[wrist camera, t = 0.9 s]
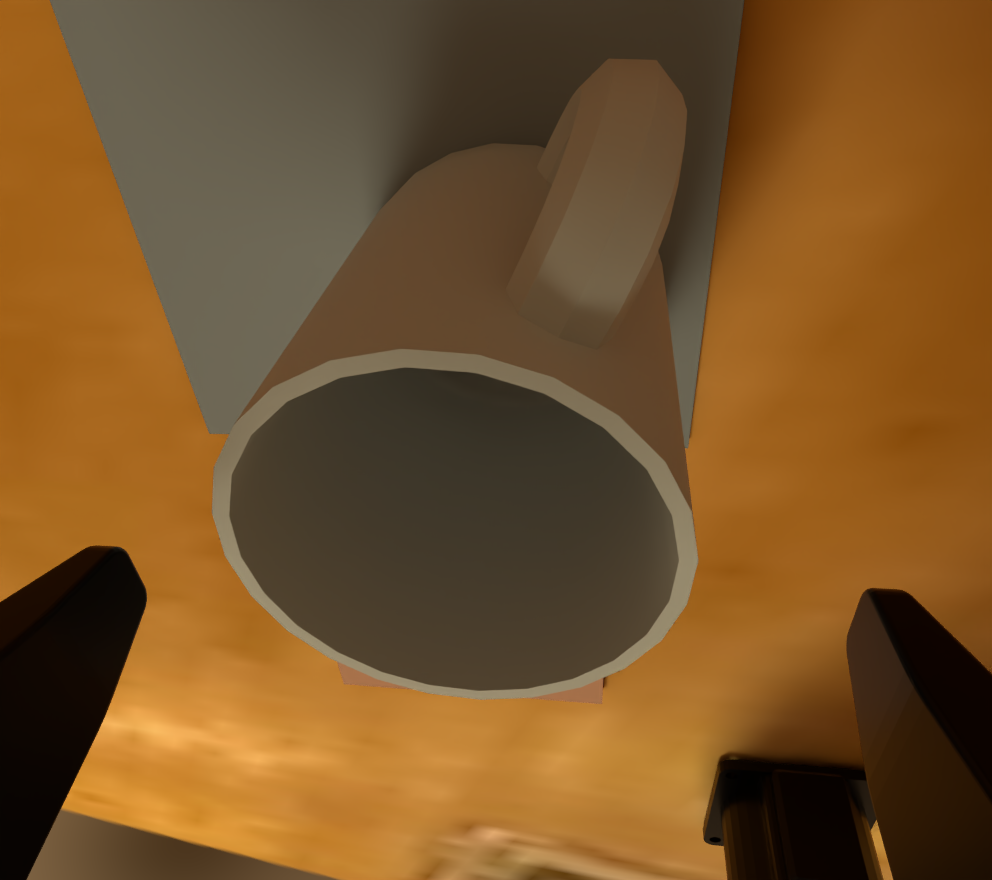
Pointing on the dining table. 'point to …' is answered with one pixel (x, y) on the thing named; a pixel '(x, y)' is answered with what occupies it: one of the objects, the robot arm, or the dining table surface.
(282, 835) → the dining table surface
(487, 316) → the cup
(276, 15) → the tile
